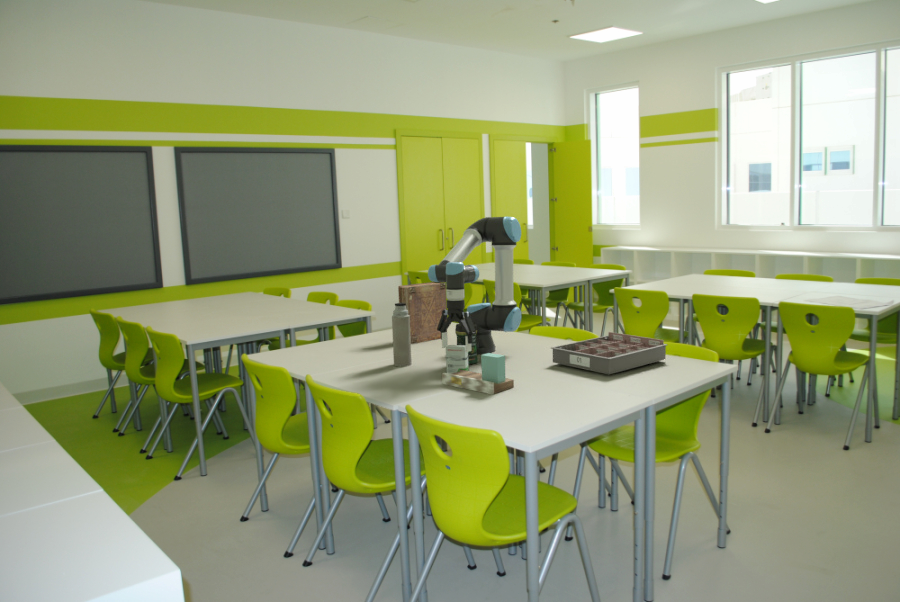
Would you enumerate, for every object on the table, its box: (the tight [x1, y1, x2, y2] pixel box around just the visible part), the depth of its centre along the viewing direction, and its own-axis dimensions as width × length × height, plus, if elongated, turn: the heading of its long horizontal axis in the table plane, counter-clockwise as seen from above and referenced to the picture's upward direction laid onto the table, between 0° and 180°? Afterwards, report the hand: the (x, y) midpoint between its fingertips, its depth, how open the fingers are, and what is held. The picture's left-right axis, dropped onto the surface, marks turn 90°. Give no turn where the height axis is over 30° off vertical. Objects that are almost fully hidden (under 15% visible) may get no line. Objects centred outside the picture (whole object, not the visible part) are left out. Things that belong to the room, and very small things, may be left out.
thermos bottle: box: [391, 302, 412, 367], centre depth 297 cm, size 8×8×28 cm
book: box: [398, 281, 448, 345], centre depth 355 cm, size 25×9×30 cm, turn 130°
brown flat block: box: [441, 370, 515, 395], centre depth 258 cm, size 26×13×4 cm, turn 47°
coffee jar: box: [454, 322, 479, 366], centre depth 296 cm, size 10×8×19 cm
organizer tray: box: [550, 331, 668, 375], centre depth 288 cm, size 32×40×10 cm
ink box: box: [445, 344, 470, 374], centre depth 279 cm, size 9×5×12 cm, turn 71°
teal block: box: [480, 352, 506, 384], centre depth 253 cm, size 8×4×10 cm, turn 47°
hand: (456, 349), depth 278 cm, fingers open, 13 cm apart
